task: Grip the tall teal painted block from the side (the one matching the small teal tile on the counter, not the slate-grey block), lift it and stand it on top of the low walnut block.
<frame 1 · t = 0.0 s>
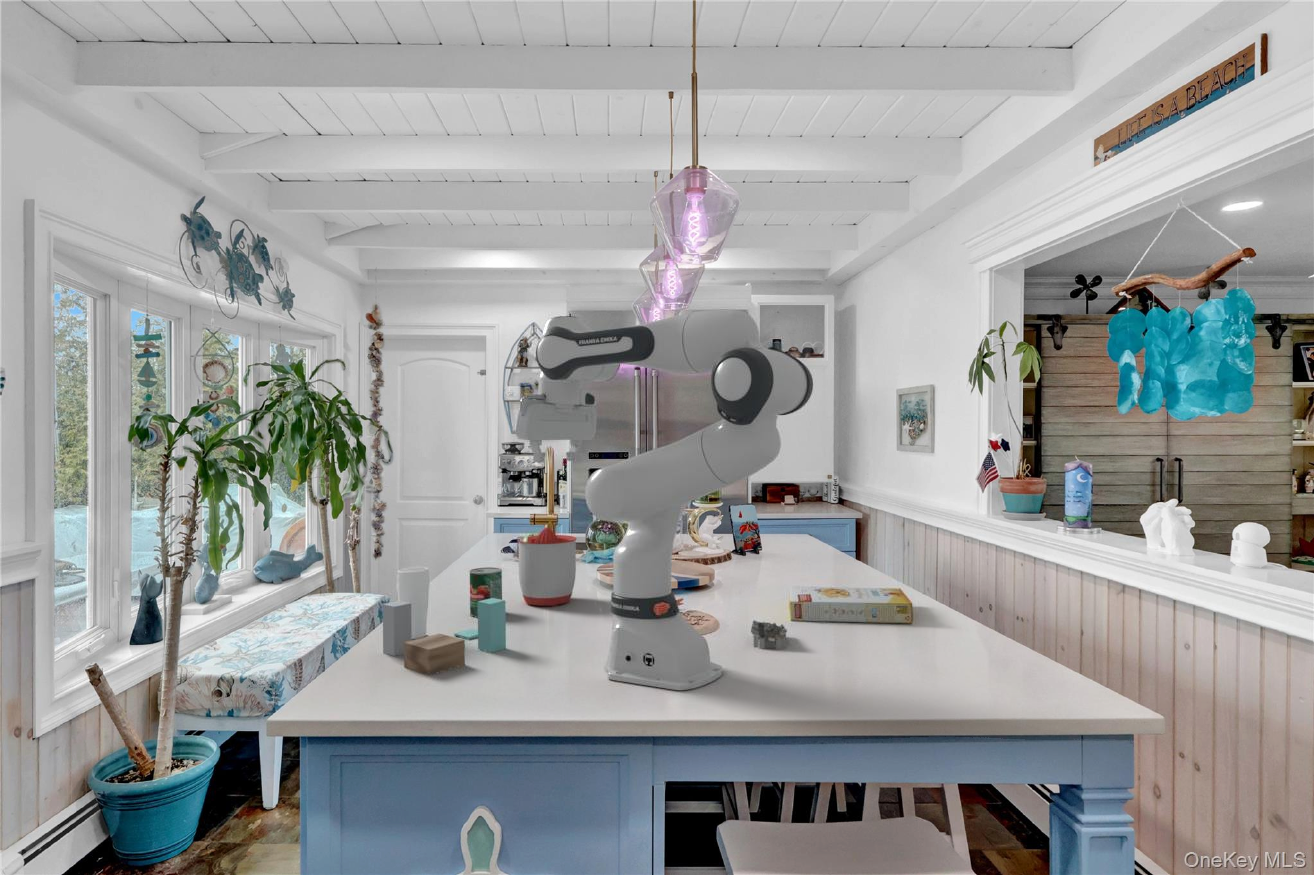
hand: (555, 461, 154), 39 cm above the table, tool pointing down, fingers open, 8 cm apart
base block: (434, 667, 142), on the table
canned tomato: (486, 615, 183), on the table
teal block: (492, 648, 153), on the table
drinking glass: (413, 637, 163), on the table
egg carton: (768, 644, 156), on the table
cereal box: (847, 615, 181), on the table
citrus juicer: (544, 602, 196), on the table
grey block: (397, 652, 151), on the table
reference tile: (470, 635, 163), on the table
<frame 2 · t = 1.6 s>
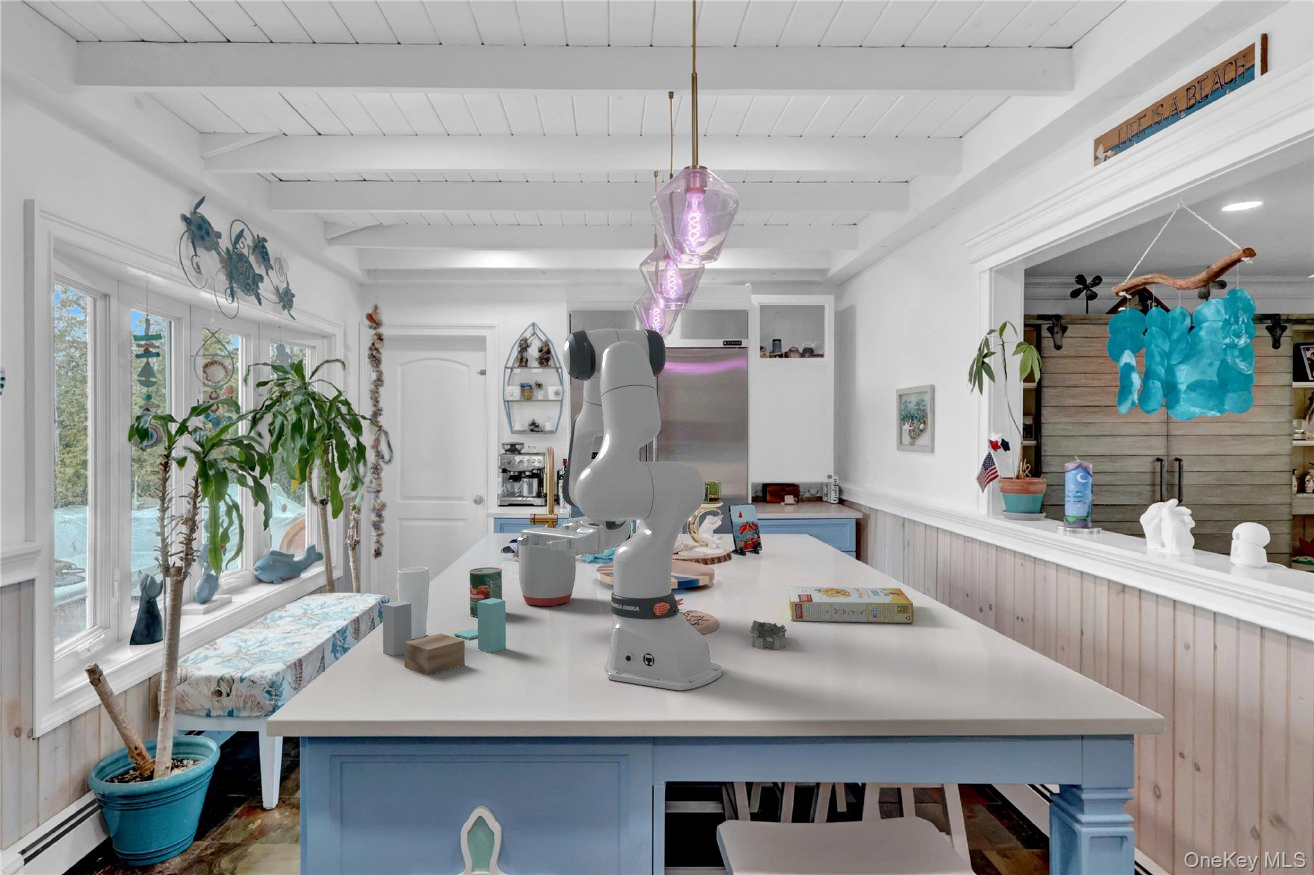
hand: (533, 544, 163), 20 cm above the table, tool horizontal, fingers open, 8 cm apart
nothing on the table moved.
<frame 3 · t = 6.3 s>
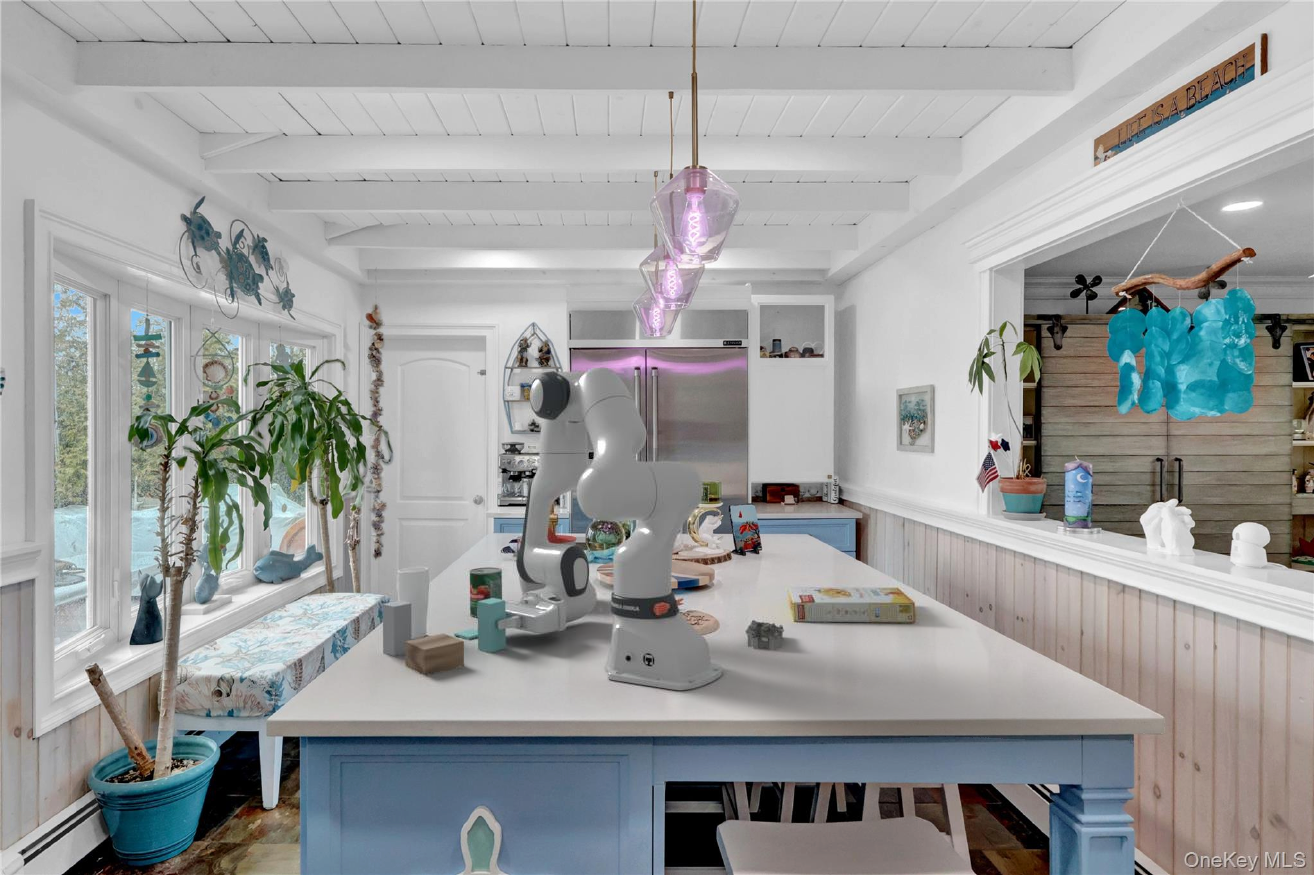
hand: (488, 623, 152), 6 cm above the table, tool horizontal, fingers closed on teal block, 4 cm apart
teal block: (492, 648, 153), on the table, touching gripper
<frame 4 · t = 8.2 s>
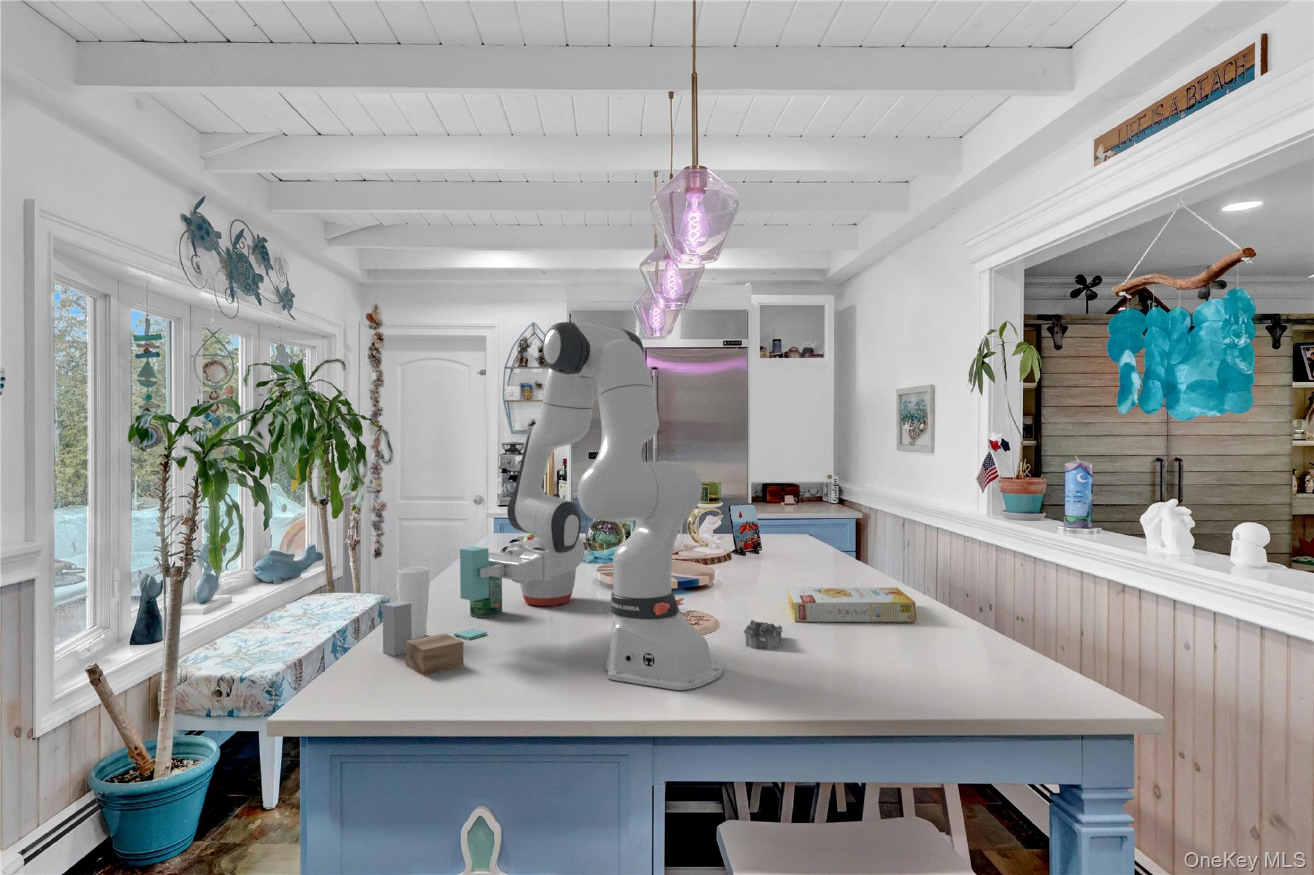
hand: (470, 571, 149), 17 cm above the table, tool horizontal, fingers closed on teal block, 4 cm apart
teal block: (474, 597, 150), point 11 cm above the table, touching gripper
when the fingers open (12 cm above the table, at t = 10.5 s): teal block drops 1 cm, resting on base block.
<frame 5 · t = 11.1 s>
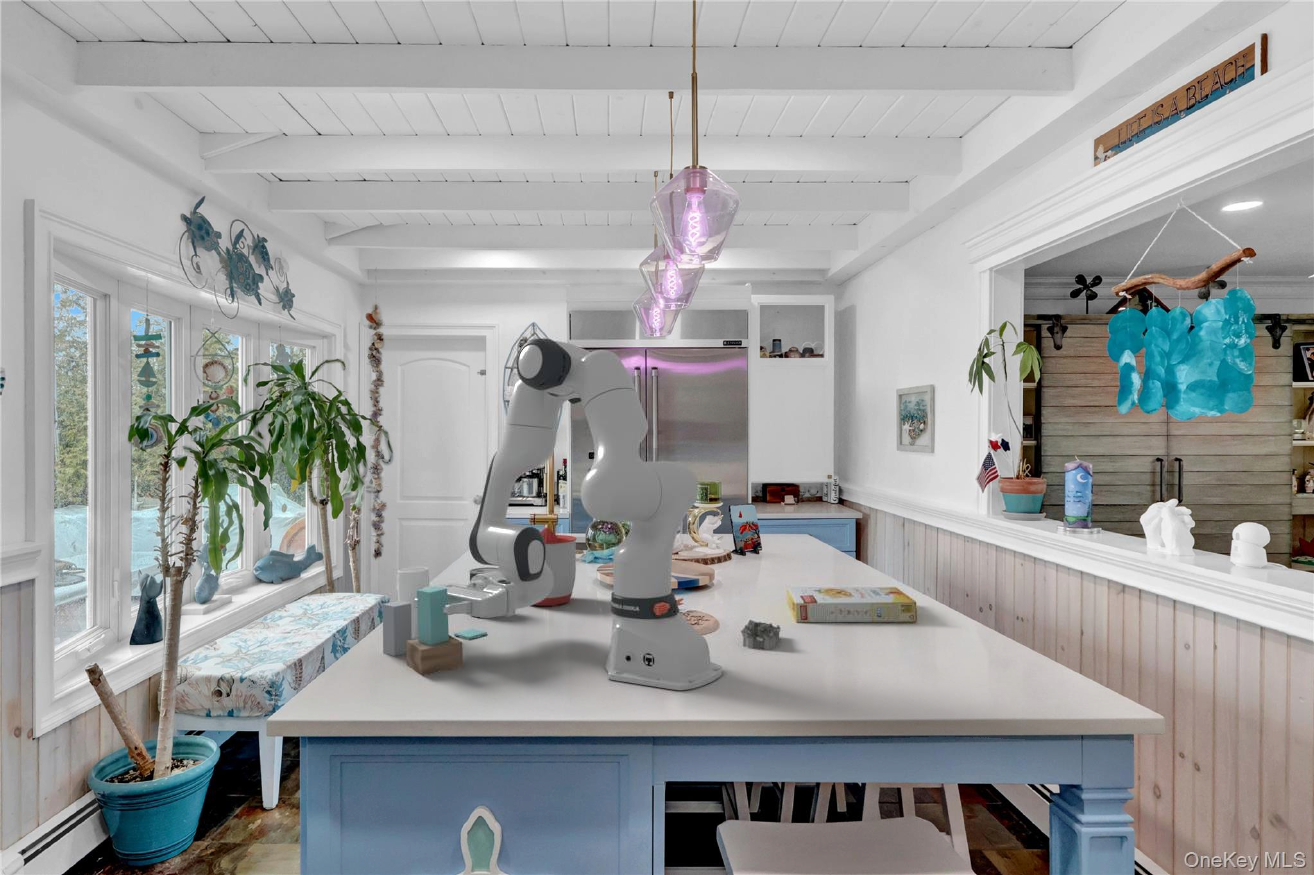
hand: (430, 607, 141), 11 cm above the table, tool horizontal, fingers open, 8 cm apart
base block: (434, 667, 142), on the table, touching teal block
teal block: (433, 641, 142), point 5 cm above the table, touching base block
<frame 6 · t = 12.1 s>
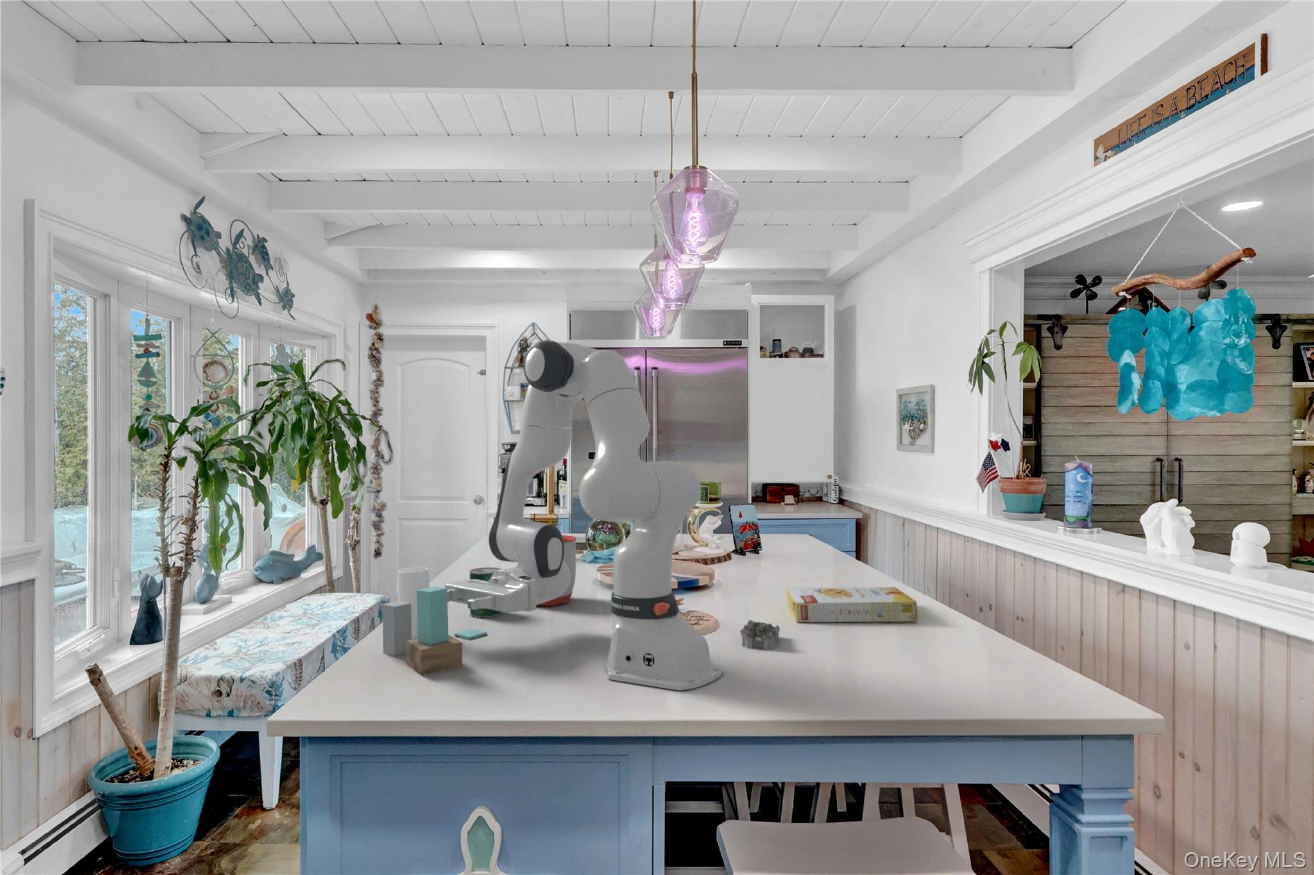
hand: (454, 601, 145), 12 cm above the table, tool horizontal, fingers open, 8 cm apart
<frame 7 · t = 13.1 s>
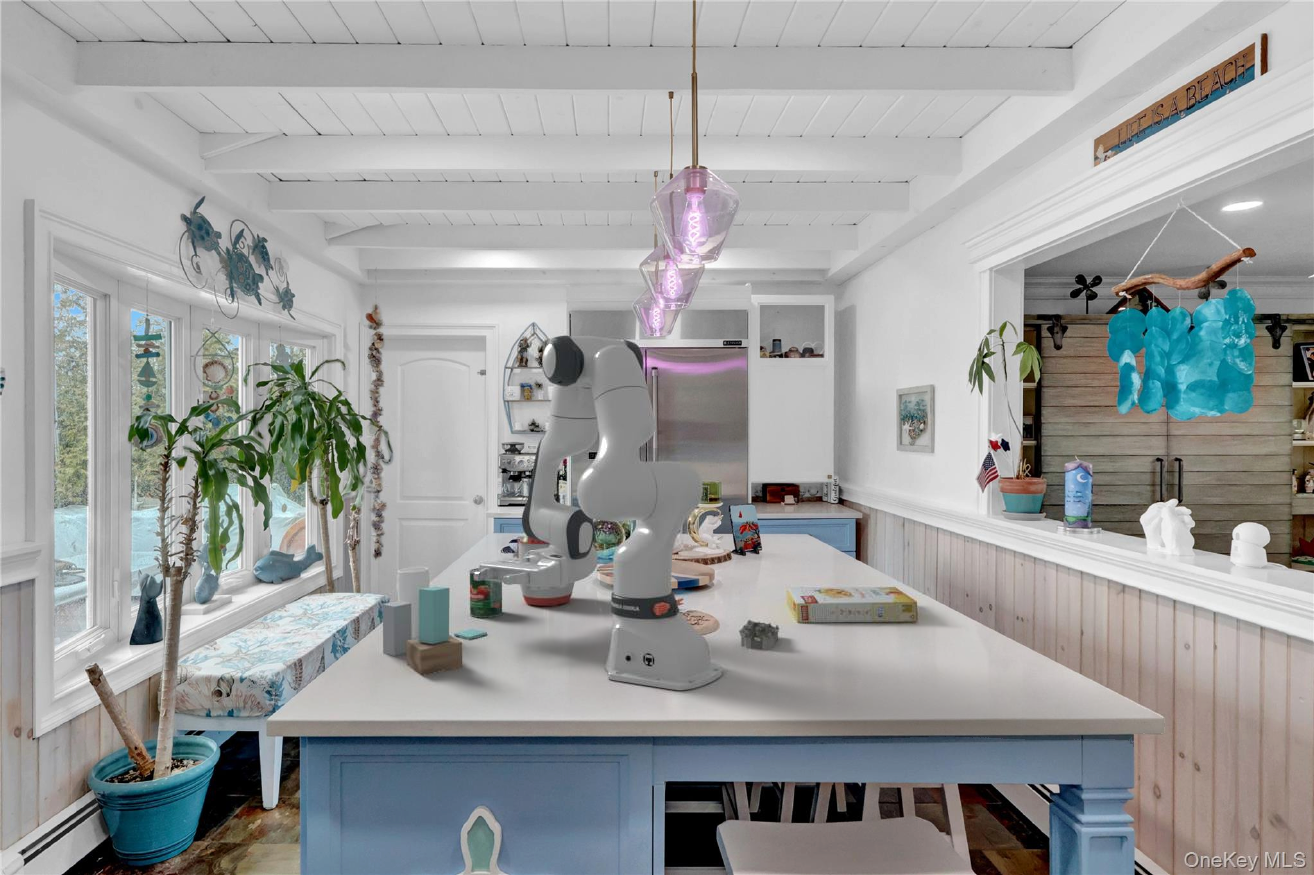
hand: (490, 578, 153), 15 cm above the table, tool horizontal, fingers open, 8 cm apart
base block: (434, 667, 142), on the table
teal block: (433, 640, 142), point 5 cm above the table
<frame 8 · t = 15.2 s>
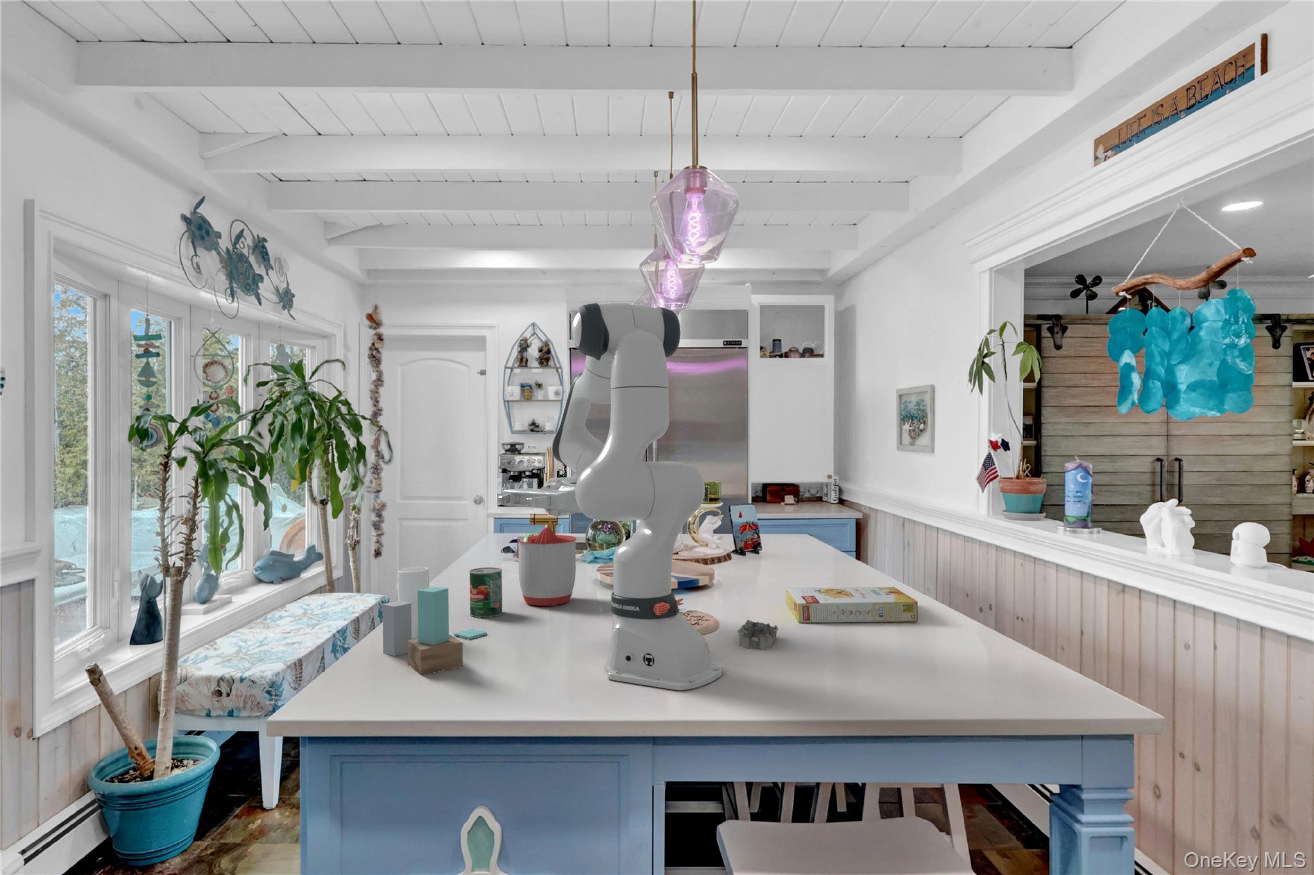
hand: (513, 501, 161), 30 cm above the table, tool horizontal, fingers open, 8 cm apart
at the end: teal block 0.3 cm off-centre on the base block, point 5.0 cm above the base block's base; teal block tilted 0°; the gripper is holding nothing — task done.
